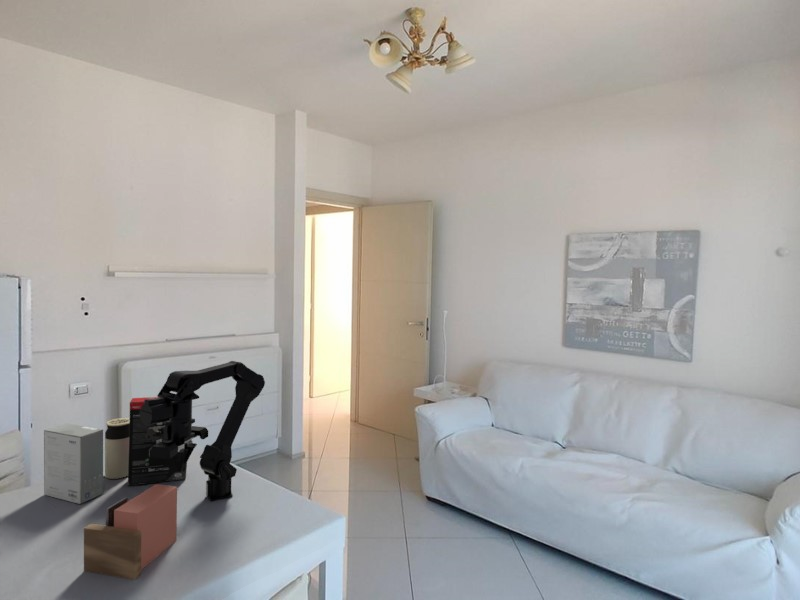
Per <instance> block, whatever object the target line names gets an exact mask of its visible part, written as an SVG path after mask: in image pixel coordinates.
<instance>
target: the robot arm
mask: <svg viewBox="0 0 800 600" xmlns="http://www.w3.org/2000/svg"><path fill="white" fill-rule="evenodd" d="M228 378H232V379H233V380H234V381H235V382H236V383H235V384H236V385H235V387H234V389H235V390H234V392H235V397H234V400H233V402H232V405H231V407H230V409H229V411H228V413H227V415H226V418H225V420H224V422H223V424H222V426H221V428H220V430H219V433H218V435H217V438H216V439H215V441H214V442H213V443H212V444H206V445H205V446H204V448H203V451H202V454H201V455H200V456H199V458H200V461H199V466H200V468H201V470H202V471H203V473H204V475H207V476H208V477H207V480H206V481H205V482H206V483H205V495H206V496H207V497H208V498H209V501H210V502H213V501H218V500H223V499H228V498H233V496H234V494H233V492H232V479H233V477H236V474H237V470H238V469H237V468H236V467H235V466H234V465H232V464H231V461H232V458H233V457H232V456H233V454H232V452H233V451H232V445H233V443H234V442H235V438H236V436H237V435H238V432H239V430H240V428H241V425H242V423H243V421H244V418H245V416H246V414H247V412H248V410H249V407H250V405H251V403H252V402H253V401H254V400H255V399H256V398H258V397H259V396H260V394H261V392H262V391H263V390H264V387H265V385H266V381H265V378H264V375H262V374H260V373H257V372H256V371H254V370H253V369H250V368H249V367H248V366H247V365H245V364H244V363H243V362H241V361H236V360H231V361H228V362H226V363H225V362H224V363H221V364H217V365H214V366H209V367H206V368H201V369H199V370H179V371H178V370H175V371H172V372H171V373H169V375H168V376H167V378H166V381H165V383H164V384H163V386H162V387H161V389H160V390H159V392H158V394H157V395H156V397H158V398H153V399H145V402H144V405H142V407H141V410H140V412H139V414H140V419H141V422H142V423H143V424H144V425H145V426H148V425H152V424H156V423H160V422H164V421H167V422H166V423H165V425H164V426H161V427H158V428H157V427H156V426H155V427H153V428H149V429H147V438H148V440H152V442H155V441H156V440H160V439H163V438H164V441H168V440H170V443H166V442H160V443H158V444H156V445H154V446H152V447H151V448H150V449H149V457H155V458H163V459H169V458H171V457H172V459H173V461H174V463H175V466H176V469H177V471H178V472H181V471H183V469H184V467H185V465H186V463H187V464H188V461H189V460H190V457H191V455H192V453H193V451H194V449H195V448H196V447H197V445H198V444H197V443H193V439H194V438H197V437H199V438H200V439H201V440H205V439H206V438H208V437H209V430H208V429H207V427H203V426H198V425H197V426H195V425H193V424H194V423H196V419H195V418H193V400H198V399H200V396H199V395H198V394H197V393H196V391H198V390H200V388H201V387H202V386H204V385H206V384H210V383H214V382H217V381H220V380H223V379H228ZM172 392H173V393H172ZM169 419H170V420H169ZM168 420H169V421H168Z"/></svg>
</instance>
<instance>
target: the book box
mask: <svg viewBox="0 0 800 600" xmlns="http://www.w3.org/2000/svg"><path fill="white" fill-rule="evenodd" d="M177 509H178V486H173V485H166V484H157V483H156V484H154V485H152V486H151V487H149V488H147V489H146V490H144V491H142V492H141V493H139V494H138V495H136V496H134V497H133V498H131V499H130V500H128V502H127V503H125V504H123V505H122V506H120V507H119V508H117V509H115V510H114V527H117V528H124V529H131V530H138V531H141V571H142V570H143V569H144V568H146V566H148V565H149V564H150V563H151V562H153V561H154V560H155V559H156V558H157V557H158V556H160V555H161V554H162V553H163V552H164V551H166V549H168V548H170V547H171V546H172V545H173V544H174V543H175V542H176V541H177V532H178V531H177V528H178V527H177V525H178V524H177V522H178V520H177V518H178V511H177Z"/></svg>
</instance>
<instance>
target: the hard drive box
mask: <svg viewBox="0 0 800 600" xmlns="http://www.w3.org/2000/svg"><path fill="white" fill-rule="evenodd" d="M43 481H44V482H43V489H44V490H43V493H44V494H43V495H45V496H48V497H52V498H56V499H59V500H63V501H68V502H70V503H75V504H79V505H80V504H83V503H85V502H87V501H89V500H92V499H94V498H96V497H98V496H101V495H103V494H104V429H103V428H102V429H101V428H96V427H91V426H83V425H78V424H71V423H64V424H61V425H57V426H54V427H51V428H47V429H43Z"/></svg>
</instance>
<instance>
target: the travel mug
mask: <svg viewBox="0 0 800 600" xmlns="http://www.w3.org/2000/svg"><path fill="white" fill-rule="evenodd" d="M105 425H106V430H105V433H104V477H105V478H107V479H109V480H110V479H111V480H118V479H119V478H120V479H123V477H124V478H126V476H127V477H128V464H129V427H130V417H122V418H121V417H120V418H113V419H110V420H107V421H106V422H105Z"/></svg>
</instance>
